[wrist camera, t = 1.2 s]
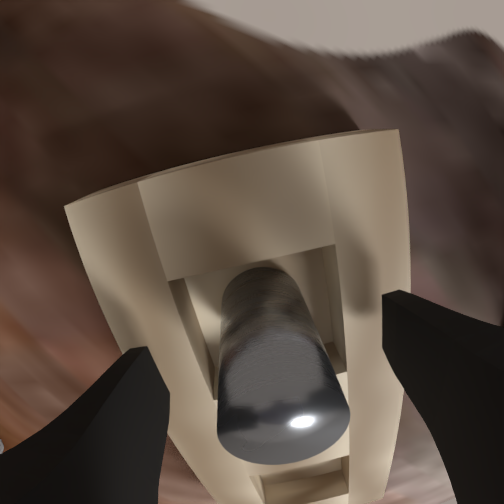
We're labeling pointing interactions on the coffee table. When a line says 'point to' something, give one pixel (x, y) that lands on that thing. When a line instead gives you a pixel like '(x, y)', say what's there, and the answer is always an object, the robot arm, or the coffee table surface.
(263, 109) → the coffee table surface
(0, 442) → the camera lens
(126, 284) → the tool board
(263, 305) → the grey cylinder
